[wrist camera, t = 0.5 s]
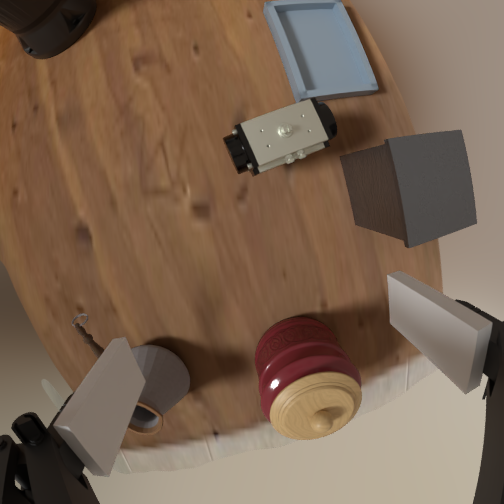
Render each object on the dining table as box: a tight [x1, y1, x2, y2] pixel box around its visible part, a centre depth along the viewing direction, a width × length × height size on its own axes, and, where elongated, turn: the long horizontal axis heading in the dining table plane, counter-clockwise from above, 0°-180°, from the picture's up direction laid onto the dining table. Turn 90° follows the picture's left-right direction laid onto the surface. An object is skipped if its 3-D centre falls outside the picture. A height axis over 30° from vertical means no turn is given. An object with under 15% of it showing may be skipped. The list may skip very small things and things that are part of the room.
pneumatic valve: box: [223, 97, 337, 176], centre depth 32 cm, size 6×12×12 cm, turn 113°
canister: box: [255, 317, 362, 440], centre depth 35 cm, size 13×13×18 cm
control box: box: [340, 130, 477, 248], centre depth 32 cm, size 11×11×15 cm
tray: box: [263, 0, 379, 103], centre depth 33 cm, size 17×12×3 cm
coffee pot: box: [72, 314, 190, 435], centre depth 35 cm, size 21×12×15 cm, turn 14°
